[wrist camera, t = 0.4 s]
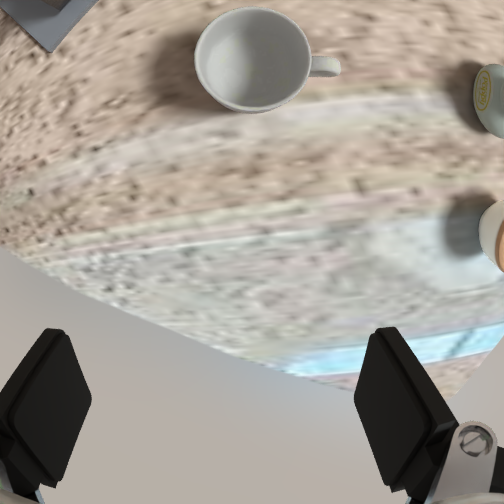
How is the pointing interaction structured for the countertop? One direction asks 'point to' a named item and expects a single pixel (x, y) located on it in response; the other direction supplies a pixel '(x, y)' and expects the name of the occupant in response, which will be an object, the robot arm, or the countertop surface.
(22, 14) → the bracket
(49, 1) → the shaft
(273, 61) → the teacup
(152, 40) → the countertop surface
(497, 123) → the air freshener
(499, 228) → the lidded jar
